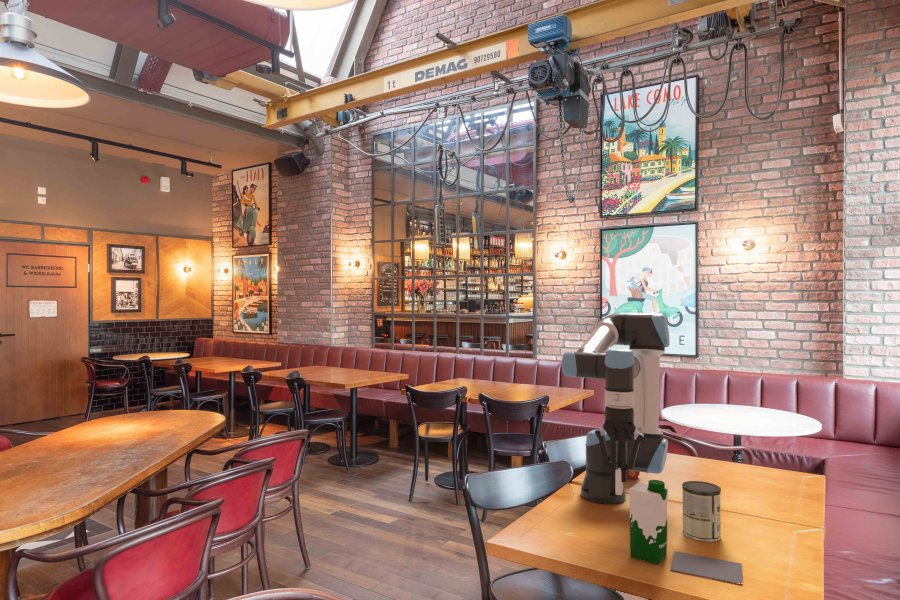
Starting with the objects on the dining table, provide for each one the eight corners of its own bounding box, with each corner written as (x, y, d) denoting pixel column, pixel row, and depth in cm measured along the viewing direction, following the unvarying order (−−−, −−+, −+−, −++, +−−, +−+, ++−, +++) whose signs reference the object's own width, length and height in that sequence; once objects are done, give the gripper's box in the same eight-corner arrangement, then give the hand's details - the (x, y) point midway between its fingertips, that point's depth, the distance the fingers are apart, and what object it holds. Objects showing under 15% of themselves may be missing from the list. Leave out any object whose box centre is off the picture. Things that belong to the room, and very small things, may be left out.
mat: (670, 570, 139) (670, 569, 139) (674, 552, 149) (674, 550, 149) (742, 585, 131) (742, 584, 131) (741, 564, 142) (741, 563, 142)
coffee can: (680, 525, 167) (680, 479, 168) (718, 530, 164) (718, 482, 164) (683, 539, 158) (683, 489, 158) (723, 544, 154) (723, 493, 155)
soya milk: (659, 567, 140) (659, 488, 141) (625, 557, 146) (625, 480, 146) (671, 555, 147) (671, 480, 147) (637, 546, 153) (637, 473, 153)
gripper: (592, 406, 150) (591, 493, 150) (642, 410, 144) (642, 501, 144) (597, 402, 157) (597, 485, 156) (646, 406, 151) (646, 493, 150)
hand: (619, 493), depth 150 cm, fingers closed
